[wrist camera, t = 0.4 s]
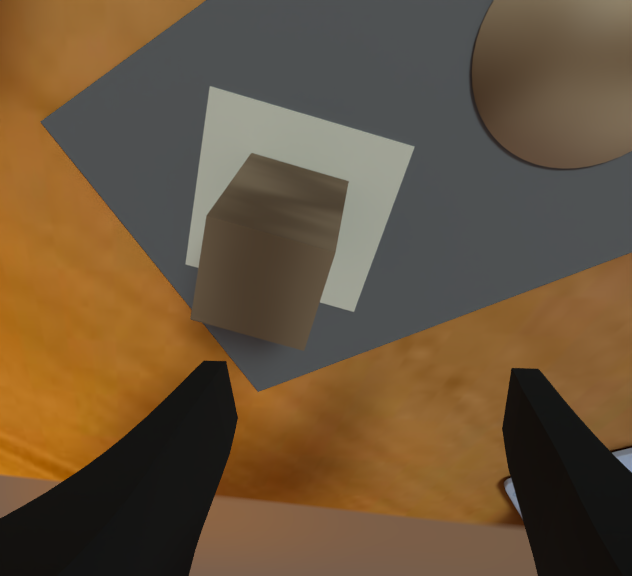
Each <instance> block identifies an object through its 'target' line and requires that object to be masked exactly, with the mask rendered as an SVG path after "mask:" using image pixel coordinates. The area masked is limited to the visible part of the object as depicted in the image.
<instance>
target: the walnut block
mask: <svg viewBox="0 0 632 576" xmlns="http://www.w3.org/2000/svg"><path fill="white" fill-rule="evenodd" d="M348 183H349V181H346V180H343V179H339V178H336V177H333V176H329V175H326V174H322V173H319V172H315V171H312V170H309V169H305V168H302V167H298V166H295V165H291V164H288V163H285V162H281V161H278V160H274V159H271V158H268V157H264V156H261V155H257V154H254V153H251V154H250V155H249V157H248V158H247V160H246V161H245V162H244V164H243V165H242V167H241V168H240V169H239V171H238V172H237V174H236V175H235V176H234V178H233V179H232V181H231V182H230V183H229V185H228V186H227V188H226V189H225V190H224V192H223V193H222V195H221V196H220V197H219V199H218V200H217V202H216V203H215V204H214V206H213V207H212V209H211V210H210V211H209V213H208V214H207V215H206V222H205V228H204V235H203V241H202V248H201V254H200V261H199V267H198V274H197V280H196V287H195V293H194V300H193V306H192V313H191V320H195V321H198V322H202V323H206V324H209V325H213V326H216V327H220V328H224V329H227V330H231V331H234V332H238V333H241V334H245V335H249V336H252V337H256V338H259V339H263V340H267V341H270V342H274V343H277V344H281V345H284V346H288V347H292V348H295V349H299V350H302V351H304V350H305V347H306V343H307V340H308V337H309V334H310V331H311V328H312V325H313V322H314V318H315V315H316V312H317V309H318V306H319V303H320V300H321V296H322V293H323V290H324V287H325V284H326V281H327V278H328V275H329V271H330V268H331V265H332V262H333V259H334V256H335V253H336V247H337V242H338V237H339V231H340V226H341V220H342V215H343V210H344V204H345V199H346V194H347V188H348Z"/></svg>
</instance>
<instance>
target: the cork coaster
mask: <svg viewBox="0 0 632 576" xmlns="http://www.w3.org/2000/svg"><path fill="white" fill-rule="evenodd" d="M472 88H473V93H474V99H475V102H476V105H477V108H478V111H479V114H480V116H481V118H482V120H483V122H484V124H485V126H486V127H487V129H488V130H489V131H490V133H491V134H492V136H493V137H494V138H495V139H496V140H497V141H498V142H499V143H500V144H501V145H502V146H503V147H504V148H506V149H507V150H508V151H510V152H511V153H512V154H514V155H516V156H518V157H520V158H521V159H523V160H526V161H528V162H531V163H534V164H537V165H541V166H545V167H551V168H562V169H564V168H581V167H588V166H593V165H597V164H601V163H604V162H608V161H610V160H613V159H615V158H618V157H621V156H623V155H625V154H627V153H629V152H631V151H632V0H493V2H492V3H491V5H490V7H489V8H488V10H487V13H486V15H485V17H484V19H483V21H482V24H481V26H480V29H479V33H478V36H477V39H476V42H475V47H474V52H473V59H472Z"/></svg>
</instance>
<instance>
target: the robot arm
mask: <svg viewBox="0 0 632 576" xmlns="http://www.w3.org/2000/svg"><path fill="white" fill-rule="evenodd" d="M237 419H238V417H237V412H236V407H235V402H234V398H233V393H232V388H231V383H230V378H229V373H228V369H227V364H226V361H203V362H202V363H201V364H200V365H199V366H198V367H197V368H196V369H195V370H194V371H193V372H192V373H191V374H190V375H189V376H188V377H187V378H186V379H185V380H184V381H183V382H182V383H181V384H180V385H179V386H178V387H177V388H176V389H175V390H174V391H173V392H172V393H171V394H170V395H169V396H168V397H167V398H166V399H165V400H164V401H163V402H162V403H161V404H160V405H158V406H157V407H156V408H155V409H154V410H153V411H152V412H151V413H150V414H149V415H148V416H147V417H146V418H145V419H144V420H142V421H141V422H140V423H139V424H138V425H137V426H136V427H134V428H133V429H132V430H131V431H130V432H129V433H128V434H126V435H125V436H124V437H123V438H122V439H121V440H119V441H118V442H117V443H116V444H115V445H113V446H112V447H111V448H109V449H108V450H107V451H106V452H104V453H103V454H102V455H100V456H99V457H98V458H96V459H95V460H94V461H92V462H91V463H90V464H88V465H87V466H85V467H84V468H83V469H81V470H80V471H78V472H77V473H75V474H74V475H72V476H70V477H69V478H67V479H66V480H64V481H63V482H61V483H60V484H58V485H57V486H55V487H54V488H52V489H51V490H49V491H48V492H46V493H44V494H43V495H41V496H39V497H38V498H36V499H34V500H32V501H31V502H29V503H27V504H26V505H24V506H22V507H20V508H18V509H17V510H15V511H13V512H11V513H10V514H8V515H6V516H4V517H2V518H0V576H189V572H190V568H191V564H192V560H193V557H194V553H195V549H196V546H197V543H198V540H199V537H200V534H201V530H202V528H203V525H204V522H205V520H206V517H207V514H208V512H209V509H210V506H211V504H212V501H213V498H214V495H215V493H216V490H217V487H218V485H219V482H220V479H221V476H222V474H223V471H224V468H225V465H226V463H227V460H228V457H229V454H230V450H231V446H232V442H233V438H234V433H235V429H236V424H237ZM502 430H503V437H504V444H505V450H506V457H507V463H508V468H509V472H510V476H511V478H509V479H507V480H506V481H505V482H504V487H505V491H506V492H507V494H508V496H509V497H510V499H511V501H512V502H513V504H514V506H515V508H516V509H517V511H518V513H519V514H520V516H521V518H522V519H523V522H524V525H525V529H526V532H527V535H528V539H529V543H530V546H531V550H532V553H533V557H534V561H535V565H536V569H537V574H538V576H632V448H628V449H624V450H620V451H616V452H612V453H611V452H610V451H609V450H608V449H607V447H606V446H605V445H604V444H603V443H602V442H601V441H600V440H599V439H598V438H597V437H596V436H595V435H594V434H593V433H592V431H591V430H590V429H589V428H588V427H587V426H586V425H585V424H584V423H583V421H582V420H581V419H580V418H579V417H578V416H577V415H576V414H575V412H574V411H573V410H572V409H571V408H570V406H569V405H568V404H567V403H566V402H565V401H564V399H563V398H562V397H561V396H560V394H559V393H558V392H557V391H556V390H555V388H554V387H553V386H552V385H551V383H550V382H549V381H548V380H547V378H546V377H545V376H544V375H543V373H542V372H541V371H540V370H539V369H524V368H512V369H511V376H510V382H509V389H508V395H507V402H506V408H505V415H504V421H503V427H502Z"/></svg>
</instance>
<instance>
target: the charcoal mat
mask: <svg viewBox="0 0 632 576" xmlns="http://www.w3.org/2000/svg"><path fill="white" fill-rule="evenodd" d="M492 2H493V0H206V1H205V2H203V3H202V4H201V5H199V6H198V7H197V8H195V9H194V10H192V11H191V12H190V13H188V14H187V15H186V16H184V17H183V18H181V19H180V20H179V21H177V22H176V23H175V24H173V25H172V26H171V27H169V28H168V29H166V30H165V31H164V32H162V33H161V34H160V35H158V36H157V37H156V38H154V39H153V40H151V41H150V42H149V43H147V44H146V45H145V46H143V47H142V48H141V49H139V50H138V51H136V52H135V53H134V54H132V55H131V56H130V57H128V58H127V59H126V60H124V61H123V62H121V63H120V64H119V65H117V66H116V67H115V68H113V69H112V70H110V71H109V72H108V73H106V74H105V75H104V76H102V77H101V78H100V79H98V80H97V81H95V82H94V83H93V84H91V85H90V86H89V87H87V88H86V89H85V90H83V91H82V92H80V93H79V94H78V95H76V96H75V97H74V98H72V99H71V100H70V101H68V102H67V103H65V104H64V105H63V106H61V107H60V108H59V109H57V110H56V111H55V112H53V113H52V114H50V115H49V116H48V117H46V118H45V119H44V120H42V121H41V123H42V124H43V126H44V127H45V128H46V129H47V130H48V132H49V133H50V134H51V135H52V137H53V138H54V139H55V140H56V142H57V143H58V144H59V145H60V147H61V148H62V149H63V150H64V152H65V153H66V154H67V155H68V157H69V158H70V159H71V160H72V161H73V163H74V164H75V165H76V166H77V168H78V169H79V170H80V171H81V173H82V174H83V175H84V176H85V178H86V179H87V180H88V181H89V183H90V184H91V185H92V186H93V188H94V189H95V190H96V191H97V192H98V194H99V195H100V196H101V197H102V199H103V200H104V201H105V202H106V204H107V205H108V206H109V207H110V209H111V210H112V211H113V212H114V214H115V215H116V216H117V217H118V219H119V220H120V221H121V222H122V223H123V225H124V226H125V227H126V228H127V230H128V231H129V232H130V233H131V235H132V236H133V237H134V238H135V240H136V241H137V242H138V243H139V245H140V246H141V247H142V248H143V250H144V251H145V252H146V253H147V254H148V256H149V257H150V258H151V259H152V261H153V262H154V263H155V264H156V266H157V267H158V268H159V269H160V271H161V272H162V273H163V274H164V276H165V277H166V278H167V279H168V281H169V282H170V283H171V284H172V285H173V287H174V288H175V289H176V290H177V292H178V293H179V294H180V295H181V297H182V298H183V299H184V300H185V302H186V303H187V304H188V305H189V307H190V308H191V309H192V306H193V300H194V293H195V287H196V280H197V274H198V268H197V267H193V266H190V265H186V264H185V263H186V256H187V249H188V241H189V234H190V227H191V220H192V212H193V205H194V198H195V190H196V183H197V176H198V168H199V161H200V154H201V146H202V139H203V132H204V125H205V117H206V110H207V103H208V95H209V88H210V86H212V87H215V88H218V89H222V90H225V91H229V92H232V93H235V94H239V95H242V96H245V97H249V98H252V99H256V100H259V101H262V102H266V103H269V104H272V105H276V106H279V107H283V108H286V109H289V110H293V111H296V112H299V113H303V114H306V115H310V116H313V117H316V118H320V119H323V120H327V121H330V122H333V123H337V124H340V125H343V126H347V127H350V128H354V129H357V130H360V131H364V132H367V133H370V134H374V135H377V136H381V137H384V138H387V139H391V140H394V141H397V142H401V143H404V144H408V145H411V146H414V150H413V153H412V155H411V158H410V161H409V164H408V166H407V169H406V172H405V174H404V177H403V180H402V183H401V185H400V188H399V191H398V193H397V196H396V199H395V202H394V204H393V207H392V210H391V212H390V215H389V218H388V221H387V223H386V226H385V229H384V231H383V234H382V237H381V240H380V242H379V245H378V248H377V250H376V253H375V256H374V259H373V261H372V264H371V267H370V269H369V272H368V275H367V278H366V280H365V283H364V286H363V288H362V291H361V294H360V297H359V299H358V302H357V305H356V307H355V310H354V312H352V311H349V310H345V309H342V308H338V307H334V306H331V305H327V304H324V303H319V306H318V309H317V312H316V315H315V318H314V322H313V325H312V328H311V331H310V334H309V337H308V340H307V343H306V347H305V350H304V351H302V350H299V349H295V348H292V347H288V346H284V345H281V344H277V343H274V342H270V341H267V340H263V339H259V338H256V337H252V336H249V335H245V334H241V333H238V332H234V331H231V330H227V329H224V328H220V327H216V326H213V325H209V324H206V323H203V324H204V325H205V326H206V328H207V329H208V330H209V331H210V333H211V334H212V335H213V336H214V338H215V339H216V340H217V341H218V343H219V344H220V345H221V346H222V347H223V349H224V350H225V351H226V352H227V354H228V355H229V356H230V357H231V359H232V360H233V361H234V362H235V364H236V365H237V366H238V367H239V369H240V370H241V371H242V372H243V374H244V375H245V376H246V377H247V378H248V380H249V381H250V382H251V383H252V385H253V386H254V387H255V388H256V390H257V391H258V392H259V391H261V390H264V389H267V388H269V387H272V386H275V385H277V384H280V383H283V382H286V381H288V380H291V379H294V378H296V377H299V376H302V375H304V374H307V373H310V372H312V371H315V370H318V369H320V368H323V367H326V366H328V365H331V364H334V363H336V362H339V361H342V360H344V359H347V358H350V357H352V356H355V355H358V354H360V353H363V352H366V351H368V350H371V349H374V348H377V347H379V346H382V345H385V344H387V343H390V342H393V341H395V340H398V339H401V338H403V337H406V336H409V335H411V334H414V333H417V332H419V331H422V330H425V329H427V328H430V327H433V326H435V325H438V324H441V323H443V322H446V321H449V320H451V319H454V318H457V317H459V316H462V315H465V314H468V313H470V312H473V311H476V310H478V309H481V308H484V307H486V306H489V305H492V304H494V303H497V302H500V301H502V300H505V299H508V298H510V297H513V296H516V295H518V294H521V293H524V292H526V291H529V290H532V289H534V288H537V287H540V286H542V285H545V284H548V283H551V282H553V281H556V280H559V279H561V278H564V277H567V276H569V275H572V274H575V273H577V272H580V271H583V270H585V269H588V268H591V267H593V266H596V265H599V264H601V263H604V262H607V261H609V260H612V259H615V258H617V257H620V256H623V255H625V254H628V253H631V252H632V151H631V152H629V153H627V154H625V155H623V156H621V157H618V158H615V159H613V160H610V161H608V162H604V163H601V164H597V165H593V166H588V167H581V168H564V169H562V168H551V167H545V166H541V165H537V164H534V163H531V162H528V161H526V160H523V159H521V158H520V157H518V156H516V155H514V154H512V153H511V152H510V151H508V150H507V149H506V148H504V147H503V146H502V145H501V144H500V143H499V142H498V141H497V140H496V139H495V138H494V137H493V136H492V134H491V133H490V131H489V130H488V129H487V127H486V126H485V124H484V122H483V120H482V118H481V116H480V114H479V111H478V108H477V105H476V102H475V99H474V93H473V88H472V59H473V52H474V47H475V42H476V39H477V36H478V33H479V29H480V26H481V24H482V21H483V19H484V17H485V15H486V13H487V10H488V8H489V7H490V5H491V3H492Z"/></svg>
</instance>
